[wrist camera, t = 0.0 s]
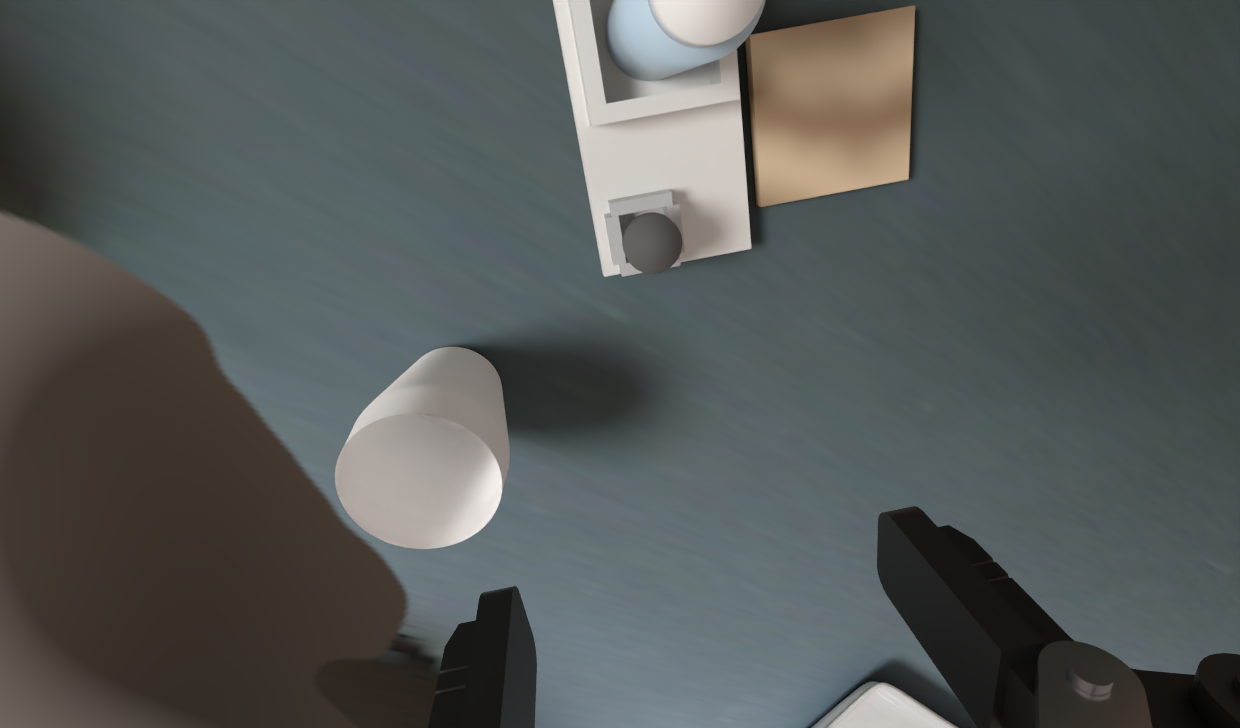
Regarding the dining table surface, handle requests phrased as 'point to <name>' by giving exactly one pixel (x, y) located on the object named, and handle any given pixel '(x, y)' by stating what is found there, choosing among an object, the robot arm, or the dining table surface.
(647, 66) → the bottle
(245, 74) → the dining table surface
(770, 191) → the coaster
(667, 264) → the plunger
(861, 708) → the square plate
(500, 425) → the cup
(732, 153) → the housing
